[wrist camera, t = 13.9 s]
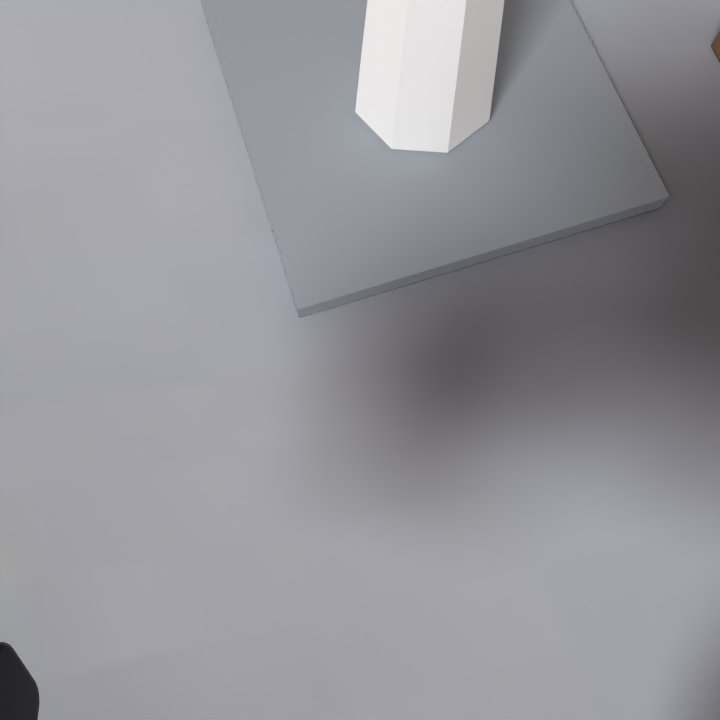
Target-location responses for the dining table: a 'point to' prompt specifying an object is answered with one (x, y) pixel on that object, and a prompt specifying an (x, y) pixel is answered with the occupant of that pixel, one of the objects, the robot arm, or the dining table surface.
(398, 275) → the slate grey mat
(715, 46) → the walnut collar
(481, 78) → the pepper shaker
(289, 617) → the dining table surface
